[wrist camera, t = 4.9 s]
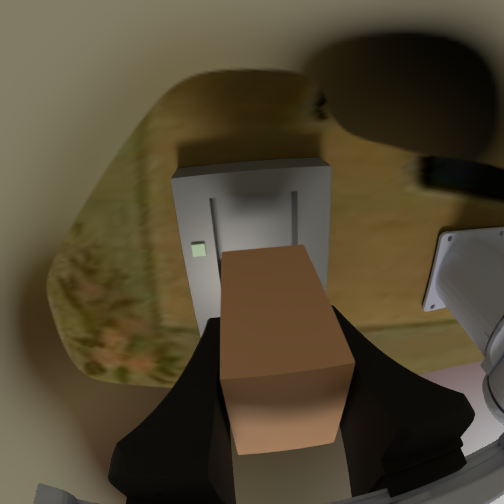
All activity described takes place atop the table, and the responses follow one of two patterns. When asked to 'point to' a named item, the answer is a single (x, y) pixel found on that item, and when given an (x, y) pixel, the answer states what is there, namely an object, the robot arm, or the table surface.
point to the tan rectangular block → (280, 351)
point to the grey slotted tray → (249, 217)
